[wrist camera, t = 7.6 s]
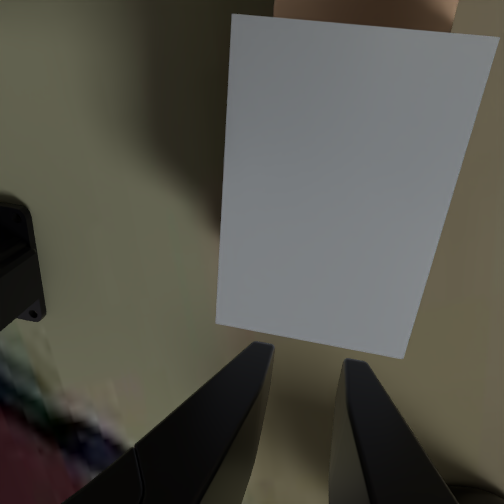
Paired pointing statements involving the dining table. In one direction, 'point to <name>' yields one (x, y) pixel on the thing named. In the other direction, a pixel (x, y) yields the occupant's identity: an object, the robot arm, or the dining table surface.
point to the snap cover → (340, 174)
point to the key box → (373, 12)
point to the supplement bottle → (474, 496)
